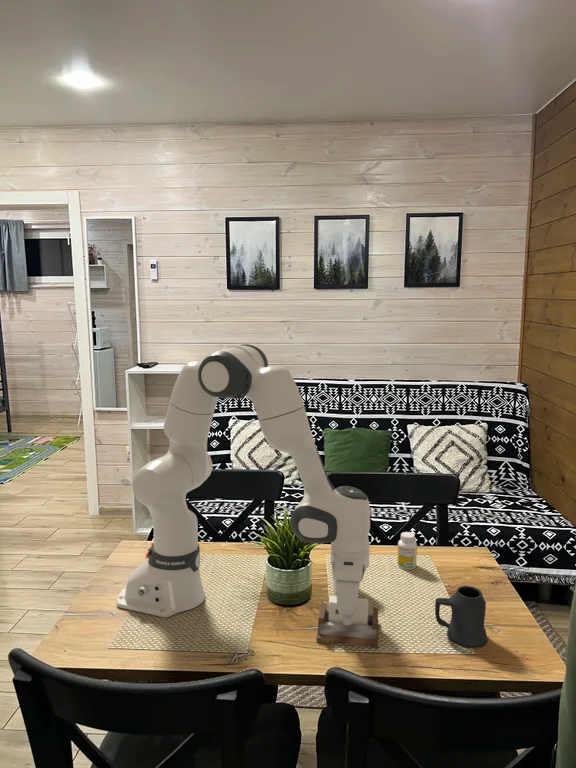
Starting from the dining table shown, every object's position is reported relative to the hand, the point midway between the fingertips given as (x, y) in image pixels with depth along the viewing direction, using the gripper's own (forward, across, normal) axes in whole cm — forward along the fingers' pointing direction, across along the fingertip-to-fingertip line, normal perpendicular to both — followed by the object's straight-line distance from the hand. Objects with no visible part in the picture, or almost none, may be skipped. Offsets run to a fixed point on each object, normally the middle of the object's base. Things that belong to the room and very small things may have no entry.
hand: (348, 612), depth 135 cm
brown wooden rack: (+5, 0, 0) cm, 5 cm away
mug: (+5, -3, +26) cm, 27 cm away
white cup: (+5, -20, -2) cm, 21 cm away
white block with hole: (+4, 0, 0) cm, 4 cm away
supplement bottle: (+5, -37, +15) cm, 40 cm away
